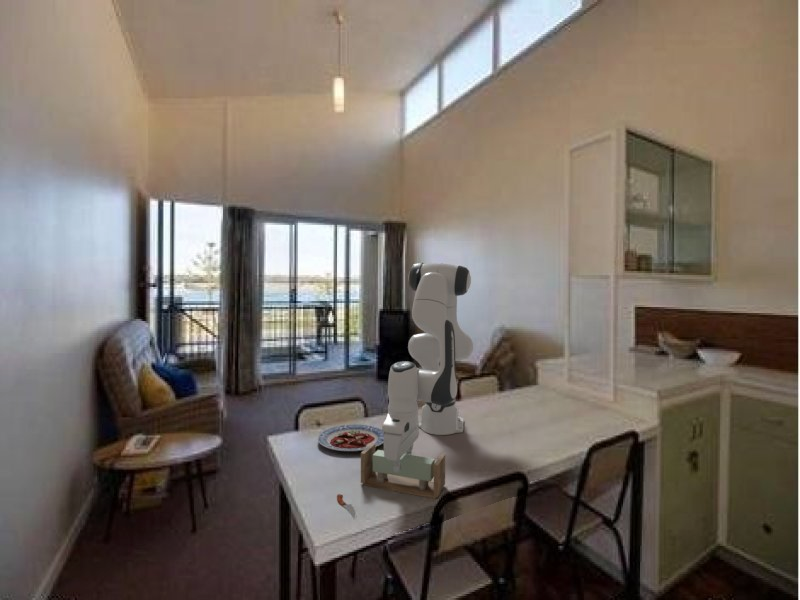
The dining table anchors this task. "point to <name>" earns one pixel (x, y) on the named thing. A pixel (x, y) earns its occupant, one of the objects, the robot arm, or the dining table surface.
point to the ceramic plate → (351, 437)
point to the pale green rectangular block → (405, 466)
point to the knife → (347, 506)
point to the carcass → (401, 482)
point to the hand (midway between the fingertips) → (402, 464)
